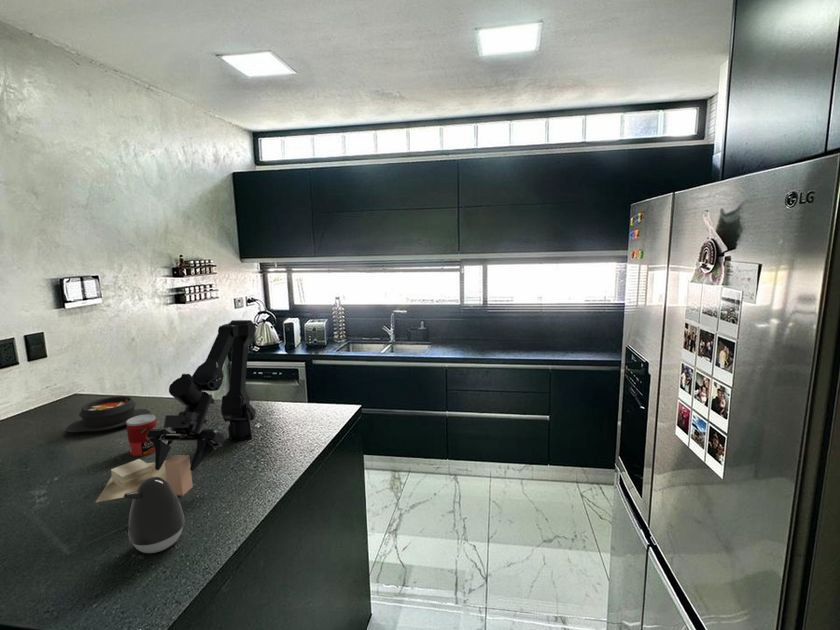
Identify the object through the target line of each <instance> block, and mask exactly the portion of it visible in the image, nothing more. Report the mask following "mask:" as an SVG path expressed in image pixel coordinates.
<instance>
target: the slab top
mask: <svg viewBox="0 0 840 630" xmlns="http://www.w3.org/2000/svg"><path fill="white" fill-rule="evenodd" d="M148 463H149V462H146V461H144V460H142V459H140V458H137V459H135V460H133V461H130V462H126V463H125V464H122V465H119V466H115V467H114V468H111V469H110V472H111V477H112V476H113V477H115V478H116V479H118V480H119V481H121V482H122V483H125V482H127V481H130V480H132V479H135V478H137V477H140V476H142V475H145V474H147V473H150V472H152V469H151V465H149V464H148Z"/></svg>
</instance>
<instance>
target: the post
mask: <svg viewBox="0 0 840 630" xmlns="http://www.w3.org/2000/svg"><path fill="white" fill-rule="evenodd" d="M164 463H165V471H166V479H167V483H168V484H169V485H170V486H171V488H172V489H173V490H174V492H175V494H176V495H177V496H181V498H184V497H186V495H185V494H187V493H188V492H189V491H190V490H191V489H192V488H193V487H194V485H193V475H192V471H191V470H190V467H191V459H190V454H174V455H172V456H170V458H168V459H167V461H165V462H164Z"/></svg>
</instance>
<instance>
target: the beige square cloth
mask: <svg viewBox="0 0 840 630" xmlns="http://www.w3.org/2000/svg"><path fill="white" fill-rule="evenodd" d="M167 460H168V459H167ZM167 460H166V459H165V461H167ZM165 461H164V462H165ZM147 463H148V464H149V465H151V469H152V477H160V478H162V479H164V480H165V481H166V482H167V479H166V471H165V463H163V465H162V466H161V468H160V469H159V470H156V469H155V461H154V462H147ZM141 483H142V482H141ZM141 483H139V484H136V485H134V486H132V487H129V488H127V489H123V488H121V487H120V486H118V485H117V484H115V483H114V482H113V480H112V476H111V477H110V478H109V480H108V482H107V484H106V485H105V486H104V488H103V490H102V491H101V493H100V494H99V496H98V498H96V500H95V503H101V502H107V501H112V500H117V499H122V498H123V499H124V494H126V493H132V492H136V490H137V489H138V487H139V485H140V484H141Z"/></svg>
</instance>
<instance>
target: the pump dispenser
mask: <svg viewBox="0 0 840 630" xmlns="http://www.w3.org/2000/svg"><path fill="white" fill-rule="evenodd" d="M123 499H124V500H132V502H131V506H130V509H129V516H128V525H127V527H128V528H127V529H128V531H127V532H128V539H129V542H130V543H131V544H132V545H133V546H134V547H135V549H137V551H139V552H141V553H143V554H144V553H145V554H155V553H158V552H162V551H164V550H166V549H168V548H170V547H172V545H174V544H175V543H176V542H177V541H178V539H180V536H181V534H182V532H183V527H184V526H185V514H184V511H183V507H182V505H181V503H180V500H179V498H178V495H176V494H175V492H174V490H173V489H172V488H171V486H170V485H169V484H168V483H167V482H166V481H165V480H164V479H162V478H160V477H151V478H148V479H146V480H145V481H143V482H142V483H141V484H140V485H139V487H138V489H137V490H136V492H132V493H126V494H124V497H123Z"/></svg>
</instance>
